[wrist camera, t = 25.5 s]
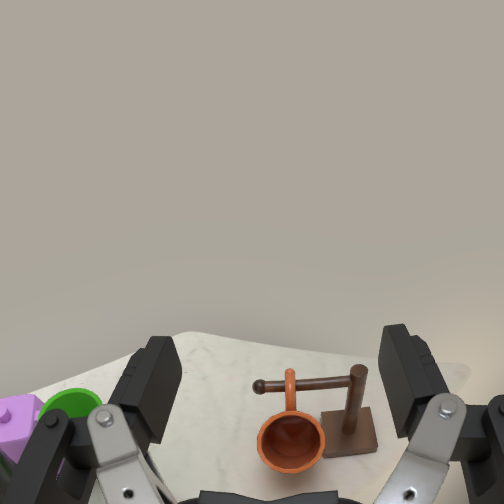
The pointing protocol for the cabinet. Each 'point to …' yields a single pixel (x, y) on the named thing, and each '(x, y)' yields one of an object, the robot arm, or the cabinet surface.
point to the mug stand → (338, 412)
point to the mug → (290, 436)
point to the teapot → (18, 423)
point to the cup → (73, 402)
